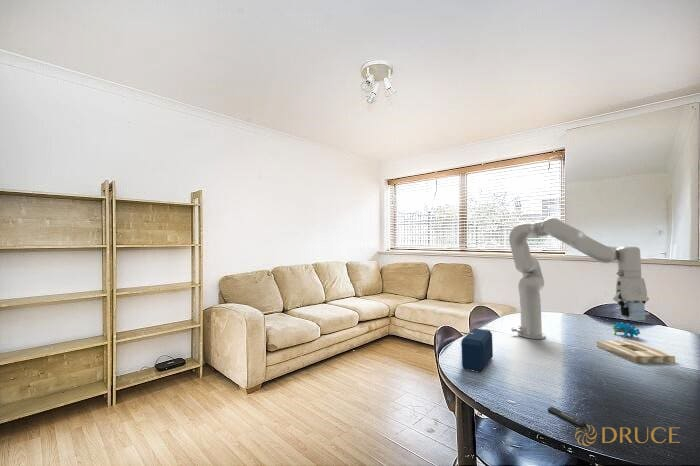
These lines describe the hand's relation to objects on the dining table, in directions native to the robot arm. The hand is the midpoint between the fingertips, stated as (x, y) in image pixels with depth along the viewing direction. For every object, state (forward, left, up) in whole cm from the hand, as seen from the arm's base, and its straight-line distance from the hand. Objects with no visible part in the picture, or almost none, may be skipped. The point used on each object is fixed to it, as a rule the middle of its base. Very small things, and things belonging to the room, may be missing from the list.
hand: (631, 315), depth 136 cm
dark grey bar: (-62, -49, -17) cm, 81 cm away
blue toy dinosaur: (+18, +25, -17) cm, 35 cm away
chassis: (0, 0, -17) cm, 17 cm away
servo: (0, 0, -1) cm, 1 cm away
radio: (-72, -9, -17) cm, 74 cm away
